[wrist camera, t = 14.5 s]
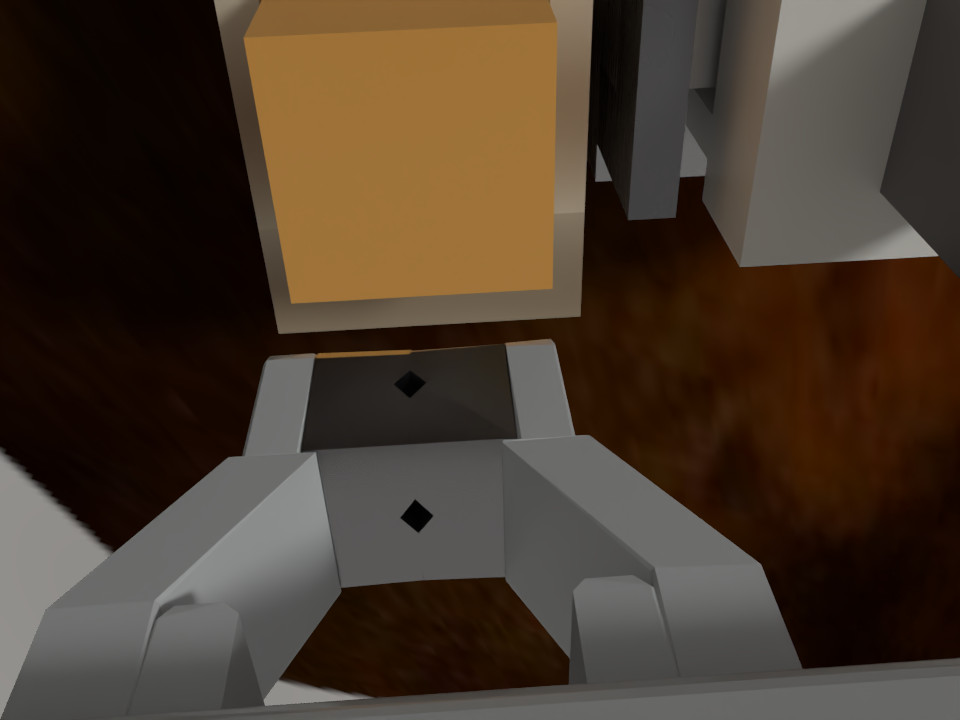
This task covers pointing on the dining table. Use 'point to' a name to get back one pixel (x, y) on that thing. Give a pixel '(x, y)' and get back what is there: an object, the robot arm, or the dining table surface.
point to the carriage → (834, 131)
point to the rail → (649, 96)
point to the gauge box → (564, 300)
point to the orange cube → (408, 144)
